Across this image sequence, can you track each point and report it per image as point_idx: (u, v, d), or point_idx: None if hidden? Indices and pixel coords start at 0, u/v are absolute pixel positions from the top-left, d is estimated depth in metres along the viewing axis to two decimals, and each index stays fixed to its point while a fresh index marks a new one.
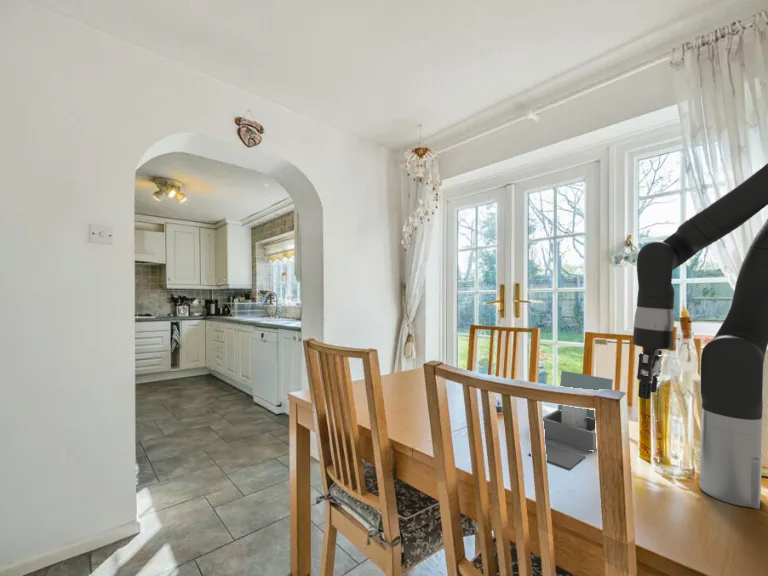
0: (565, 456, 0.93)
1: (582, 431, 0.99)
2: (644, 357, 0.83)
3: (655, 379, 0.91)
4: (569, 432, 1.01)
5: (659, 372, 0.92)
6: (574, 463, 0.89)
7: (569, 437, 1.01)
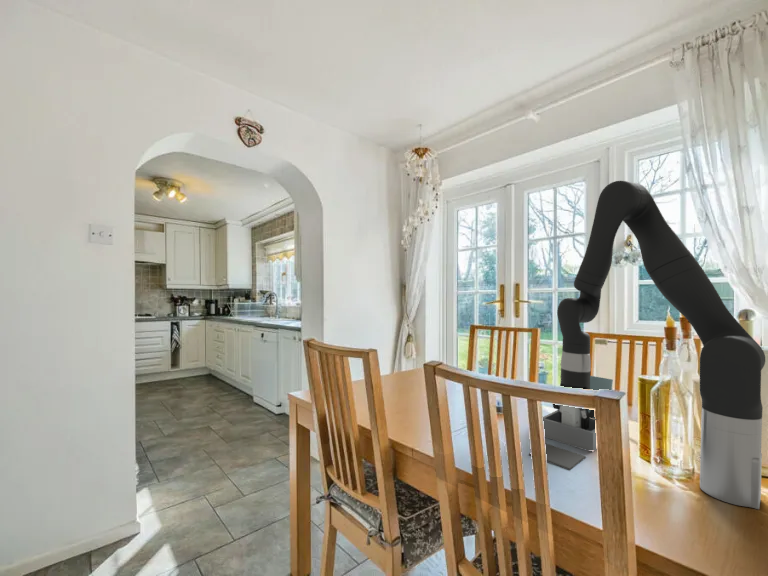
0: (565, 456, 0.93)
1: (582, 431, 0.99)
2: None
3: None
4: (569, 432, 1.01)
5: None
6: (574, 463, 0.89)
7: (569, 437, 1.01)
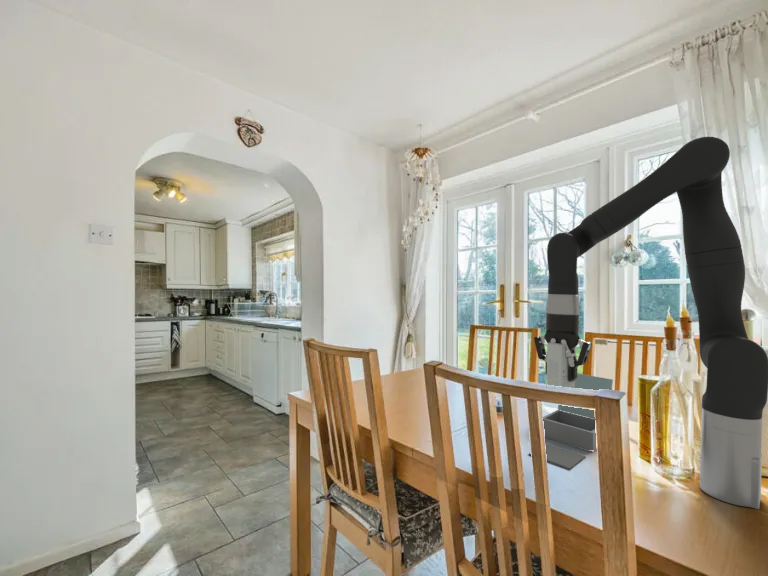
0: (565, 456, 0.93)
1: (582, 431, 0.99)
2: (589, 346, 0.90)
3: None
4: (569, 432, 1.01)
5: None
6: (574, 463, 0.89)
7: (569, 437, 1.01)
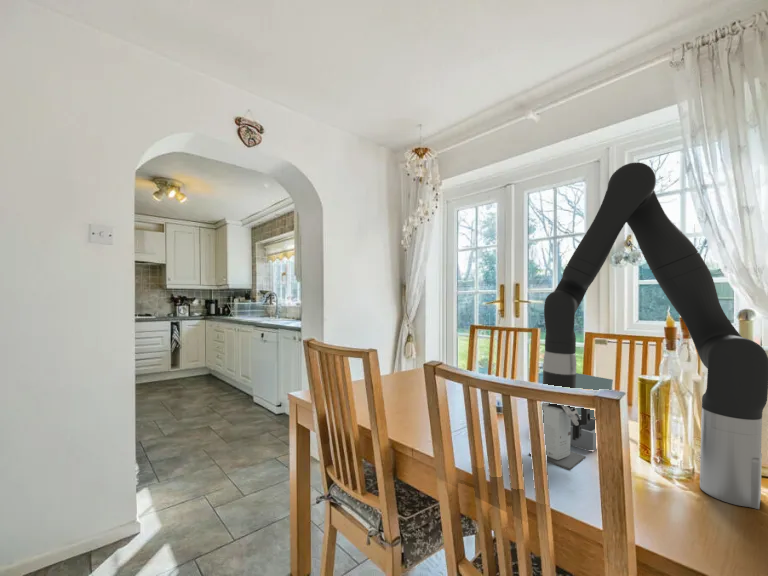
0: None
1: (582, 431, 0.99)
2: None
3: None
4: None
5: None
6: (574, 463, 0.89)
7: None
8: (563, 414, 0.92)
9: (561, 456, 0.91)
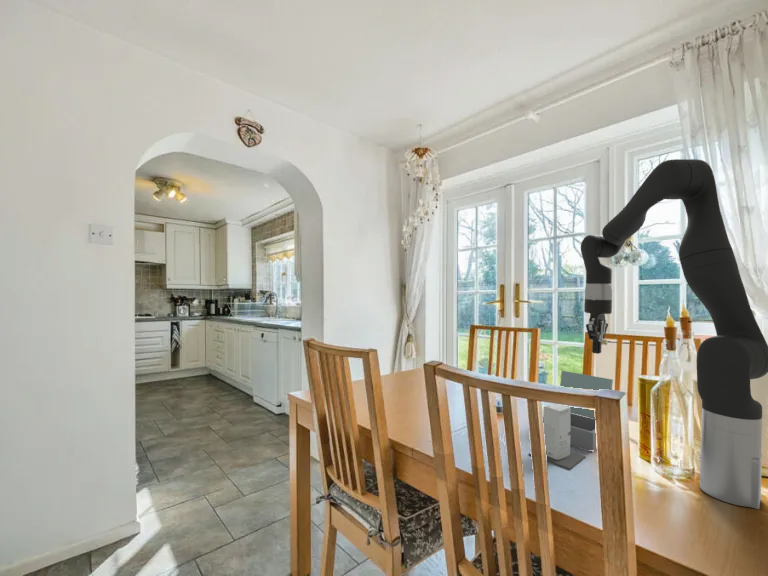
0: None
1: (582, 431, 0.99)
2: None
3: None
4: None
5: None
6: (574, 463, 0.89)
7: None
8: (563, 414, 0.92)
9: (561, 456, 0.91)
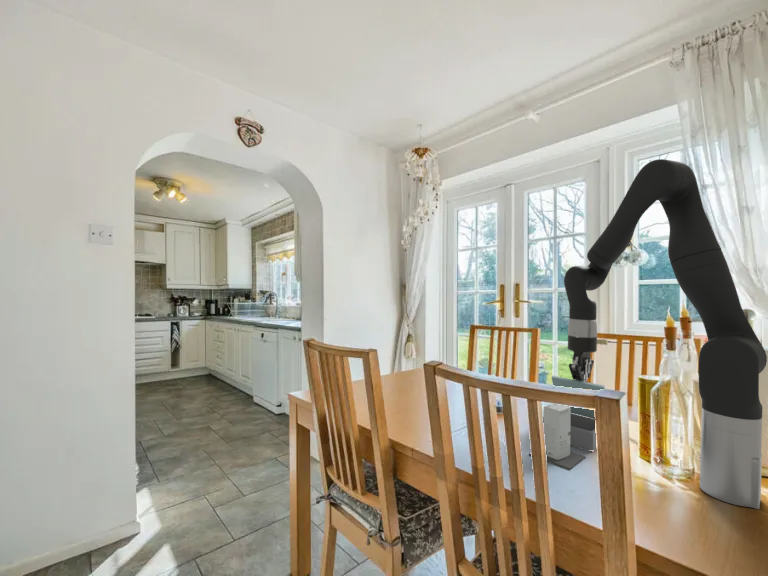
0: None
1: (582, 431, 0.99)
2: None
3: None
4: None
5: None
6: (574, 463, 0.89)
7: None
8: (563, 414, 0.92)
9: (561, 456, 0.91)
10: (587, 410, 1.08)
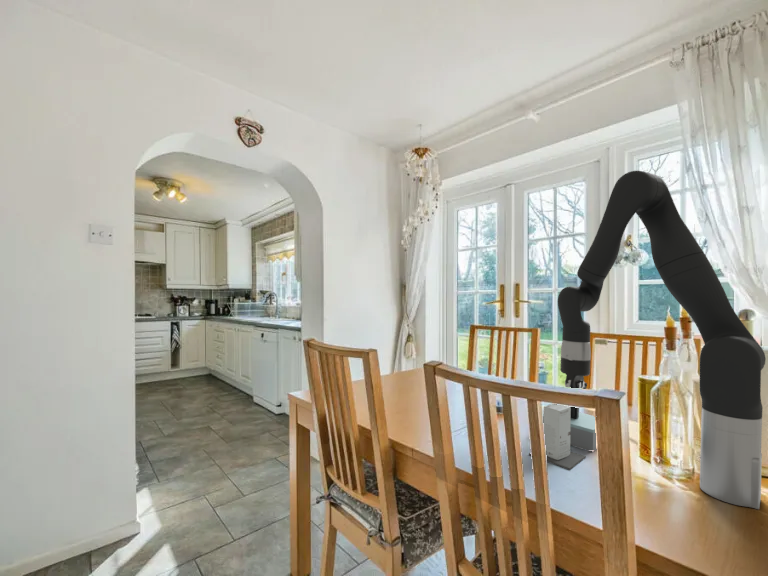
0: None
1: (582, 431, 0.99)
2: None
3: None
4: None
5: None
6: (574, 463, 0.89)
7: None
8: (563, 414, 0.92)
9: (561, 456, 0.91)
10: None
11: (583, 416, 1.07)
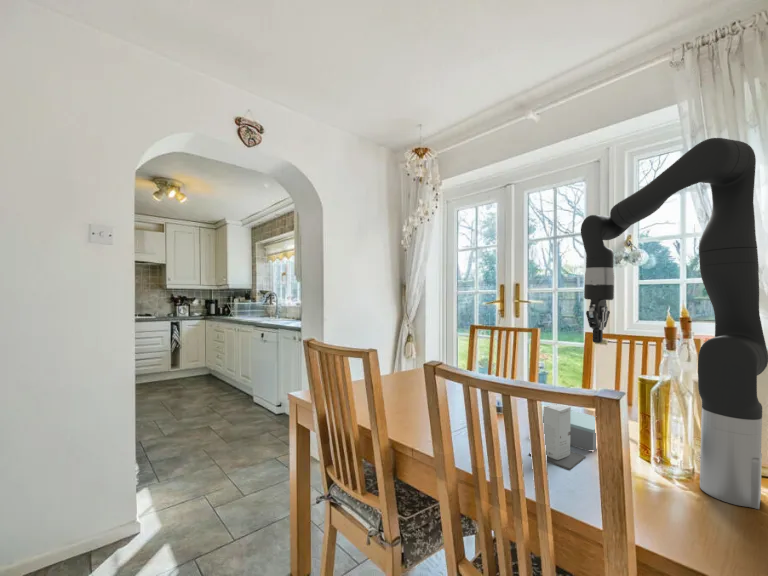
0: None
1: (582, 431, 0.99)
2: None
3: None
4: None
5: None
6: (574, 463, 0.89)
7: None
8: (563, 414, 0.92)
9: (561, 456, 0.91)
10: None
11: (583, 416, 1.07)
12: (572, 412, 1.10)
